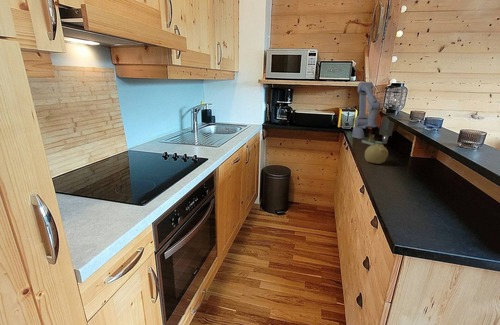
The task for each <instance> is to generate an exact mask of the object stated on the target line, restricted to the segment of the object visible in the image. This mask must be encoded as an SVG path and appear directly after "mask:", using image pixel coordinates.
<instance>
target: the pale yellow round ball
mask: <svg viewBox="0 0 500 325" xmlns="http://www.w3.org/2000/svg"><path fill="white" fill-rule="evenodd" d="M388 157H389V151H388V149H387V147H386V146H384V144H383V145H379V144H375V145H369V146H367V148H366V149H365V150H364V159H365V161H366V162H368V163H371V164H378V165H381V164H383V163H385V162H386V161H387V158H388Z"/></svg>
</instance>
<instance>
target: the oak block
mask: <svg viewBox="0 0 500 325" xmlns="http://www.w3.org/2000/svg"><path fill="white" fill-rule="evenodd" d="M364 140H365V141H368V142H372V143H373V142H374V140H375V137H374V135H373V134H372V133H368V137H367V138H365V139H364Z"/></svg>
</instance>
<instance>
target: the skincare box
mask: <svg viewBox="0 0 500 325" xmlns="http://www.w3.org/2000/svg"><path fill="white" fill-rule="evenodd" d="M387 117H388V116H382V120H381V125H380V126H379V133H378V135H380V136H383V135H388V137H392V136H393V131H394V127H395V123H394V122H392V121H390V120H389V119H388V118H387Z"/></svg>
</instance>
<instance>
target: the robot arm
mask: <svg viewBox="0 0 500 325" xmlns="http://www.w3.org/2000/svg"><path fill="white" fill-rule="evenodd" d="M373 89H374V83H373V81H369V82H368V81H360V82H358V85H357V94H358V95H359V97H358V98H359V100H358V106H359V107H358V115H357V116H355V118H354V127H353V129H352V134H351V138H356V139H359V140H364V139H366V138H367V137H368V134H370V130H371V134H373V135H374V138H375V137H376V134H377V133H378V131H380V127H381V125H380V124H378V123H377V119H378V113H379V111H380V109H381V102H379V101H378V100H377V97H376V95H375V94H374V91H373ZM367 103H368V115H366V114H367V113H366V112H367V111H366V110H367Z"/></svg>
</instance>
